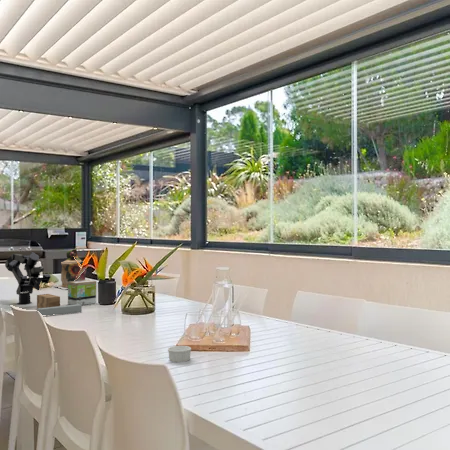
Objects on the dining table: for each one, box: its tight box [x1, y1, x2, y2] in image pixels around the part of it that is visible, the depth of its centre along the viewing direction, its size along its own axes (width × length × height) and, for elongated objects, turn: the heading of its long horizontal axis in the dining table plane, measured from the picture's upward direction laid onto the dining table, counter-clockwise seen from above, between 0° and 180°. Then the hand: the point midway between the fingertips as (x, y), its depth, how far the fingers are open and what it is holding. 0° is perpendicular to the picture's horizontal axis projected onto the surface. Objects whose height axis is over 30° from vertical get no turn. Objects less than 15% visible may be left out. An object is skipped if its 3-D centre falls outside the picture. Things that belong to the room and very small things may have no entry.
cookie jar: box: [53, 247, 87, 291], centre depth 391 cm, size 25×25×32 cm
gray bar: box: [36, 304, 83, 316], centre depth 275 cm, size 24×4×4 cm, turn 127°
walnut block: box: [36, 293, 61, 310], centre depth 286 cm, size 16×7×9 cm, turn 44°
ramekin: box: [167, 345, 192, 363], centre depth 184 cm, size 9×9×4 cm
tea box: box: [67, 279, 97, 306], centre depth 310 cm, size 15×10×15 cm, turn 143°
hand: (38, 289), depth 296 cm, fingers closed
